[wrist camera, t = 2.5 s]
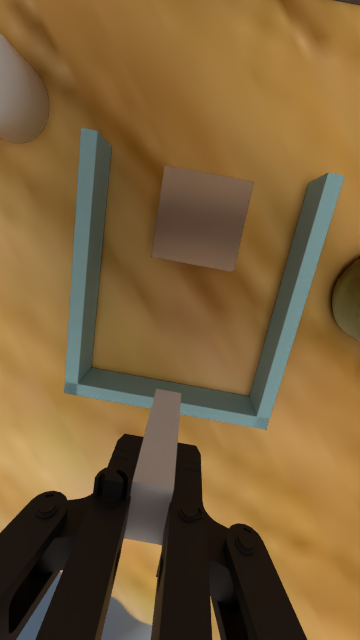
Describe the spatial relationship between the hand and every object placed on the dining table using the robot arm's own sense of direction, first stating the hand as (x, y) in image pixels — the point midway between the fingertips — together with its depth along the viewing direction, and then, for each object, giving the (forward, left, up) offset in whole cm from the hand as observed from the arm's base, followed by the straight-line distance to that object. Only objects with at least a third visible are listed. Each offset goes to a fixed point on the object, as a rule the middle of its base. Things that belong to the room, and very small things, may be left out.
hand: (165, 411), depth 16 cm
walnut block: (-11, 0, -12) cm, 16 cm away
